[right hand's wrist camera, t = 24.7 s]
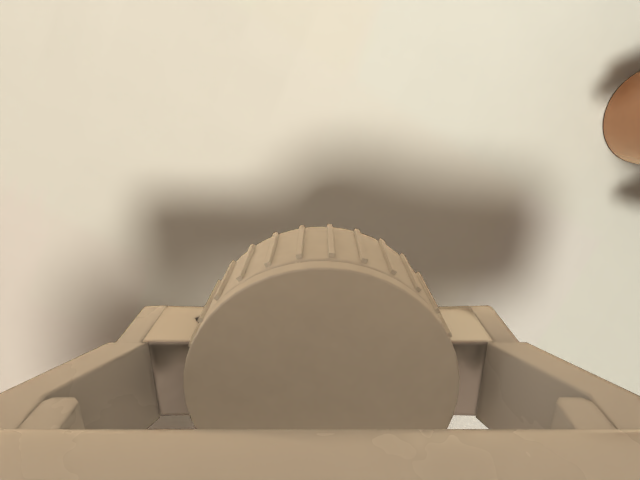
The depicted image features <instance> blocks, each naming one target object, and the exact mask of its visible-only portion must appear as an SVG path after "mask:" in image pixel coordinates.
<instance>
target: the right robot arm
mask: <svg viewBox="0 0 640 480" xmlns="http://www.w3.org/2000/svg"><path fill="white" fill-rule="evenodd" d="M438 308H439V310H440V313H441V315H442V317H443V318H444V320H445V322H446V324H447V326H448V328H449V330H450V332H451V334H452V337H450V339H451V342H452V345H453V347H454V350H455V352H456V356H457V361H458V366H459V378H460V386H459V394H458V401H457V404H456V408H455V411H454V414H453V415H473V416H476V418H477V419H478V420H480V421H481V422H482V423H483V424H484V425H485V426H486V427H487V428H489V429H147V428H148V427H149V426H151V425H152V424H153V423H154V422H155V421H156V420H158V419H159V418H160V416H163V415H190V414H189V411H188V408H187V405H186V400H185V394H184V368H185V362H186V357H187V354H188V351H189V348H190V347H188V345H189V342H190V340H191V338H192V336H193V334H194V332H195V330H196V328H197V326H198V324H199V322H197V320H198V319H199V317H200V315H201V313H202V311H203V309H204V307H197V306H145V307H144V308H143V309H142V310H141V312H140V313H139V314H138V315H137V317H136V318H135V319H134V320H133V322H132V323H131V324H130V325H129V327H128V328H127V329H126V330H125V332H124V333H123V334H122V335H121V337H120V338H119V339H118V340H117V342H109V343H107V344H105V345H102V346H100V347H98V348H96V349H94V350H92V351H90V352H87V353H85V354H83V355H81V356H79V357H77V358H75V359H72V360H70V361H68V362H66V363H64V364H62V365H60V366H57V367H55V368H53V369H51V370H49V371H47V372H45V373H43V374H40V375H38V376H36V377H34V378H32V379H30V380H28V381H25V382H23V383H21V384H19V385H17V386H15V387H13V388H10V389H8V390H6V391H4V392H2V393H0V480H640V396H639V395H636V394H634V393H632V392H630V391H628V390H626V389H624V388H622V387H620V386H617V385H615V384H613V383H611V382H609V381H607V380H605V379H603V378H600V377H598V376H596V375H594V374H592V373H590V372H588V371H586V370H584V369H581V368H579V367H577V366H575V365H573V364H571V363H569V362H567V361H565V360H562V359H560V358H558V357H556V356H554V355H552V354H550V353H548V352H546V351H543V350H541V349H539V348H537V347H535V346H533V345H531V344H529V343H527V342H519V341H518V340H517V339H516V337H515V336H514V335H513V333H512V332H511V331H510V330H509V328H508V327H507V326H506V325H505V323H504V322H503V321H502V319H501V318H500V317H499V316H498V314H497V313H496V312H495V311H494V309H493V308H492V307H490V306H488V305H486V306H443V307H438Z"/></svg>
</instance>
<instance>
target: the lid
mask: <svg viewBox="0 0 640 480" xmlns="http://www.w3.org/2000/svg"><path fill="white" fill-rule="evenodd" d="M197 322H199V324H198V326H197V328H196V330H195V332H194V334H193V336H192V338H191V340H190V342H189V345H188V347H190V348H189V351H188V354H187V357H186V362H185V368H184V394H185V400H186V405H187V408H188V411H189V414H190V417H191V420H192V422H193V424H194V426H195V428H196V429H447V428H448V426H449V423H450V421H451V419H452V417H453V414H454V411H455V408H456V404H457V401H458V394H459V386H460V378H459V366H458V361H457V356H456V352H455V350H454V347H453V345H452V342H451V339H450V337H452V334H451V332H450V330H449V328H448V326H447V324H446V322H445V320H444V318H443V317H442V315H441V313H440V310H439V308H438V306H437V304H436V302H435V300H434V298H433V296H432V295H431V293H430V291H429V289H428V287H427V285H426V283H425V282H424V280H423V278H422V276H421V274H420V273H419V271H418V272H417V273H415V272H414V270H413V269H412V268H411V267H410V265H409V263H408V261H407V259H406V257H405V255H404V254H403V253H401V254H400V255H399V254H398V253H397V252H395V251H394V250H392V249H391V248H390V247H388V246H387V245H386V244H385V241H384V240H383V239H381V238H380V239H379V241H378V240H376V239H374V238H372V237H370V236H367V235H365V234H362V233H360V230H359V229H356V228H355V229H354V231H352V230H348V229H343V228H335V227H332V224H327V227H307V228H305V226H304V225H301V226H299V229H294V230H291V231H287V232H283V233H280V234H278V232H275V233H273V235H272V237H271V238H268V239H266V240H264V241H263V242H261V243H259V244H257V245H256V246H255V245H254V244H252V245H250V246H249V249H248V251H247V252H246V253H245V254H244V255H242V256H241V257H240V258H239V259H238V260H237V261H234V260H233V261H232V262H231V263H230V265H229V267H228V269H227V271H226V273H225V275H224V277H223V279H222V281H221V280H218V282H217V283H216V285H215V287H214V289H213V291H212V293H211V295H210V297H209V299H208V301H207V303H206V305H205V307H204V309H203V311H202V313H201V315H200V317H199V319H198V320H197Z"/></svg>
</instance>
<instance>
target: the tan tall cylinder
mask: <svg viewBox="0 0 640 480" xmlns="http://www.w3.org/2000/svg"><path fill="white" fill-rule="evenodd" d="M603 128H604V136H605V139H606V142H607V144H608V146H609V148H610V149H611V150H612V152H613V153H614V154H615V155H616V156H618V157H619V158H621V159H622V160H625V161H627V162H631V163H635V164H639V165H640V71H639V72H637V73H636V74H634V75H633V76H631V77H630V78H628V79H627V80H626V81H625V82H624V83H623V84H622V85H621V86H620V87H619V88H618V89H617V91H616V92H615V93H614V95H613V96H612V98H611V100H610V102H609V104H608V106H607V109H606V112H605V116H604V124H603Z"/></svg>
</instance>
